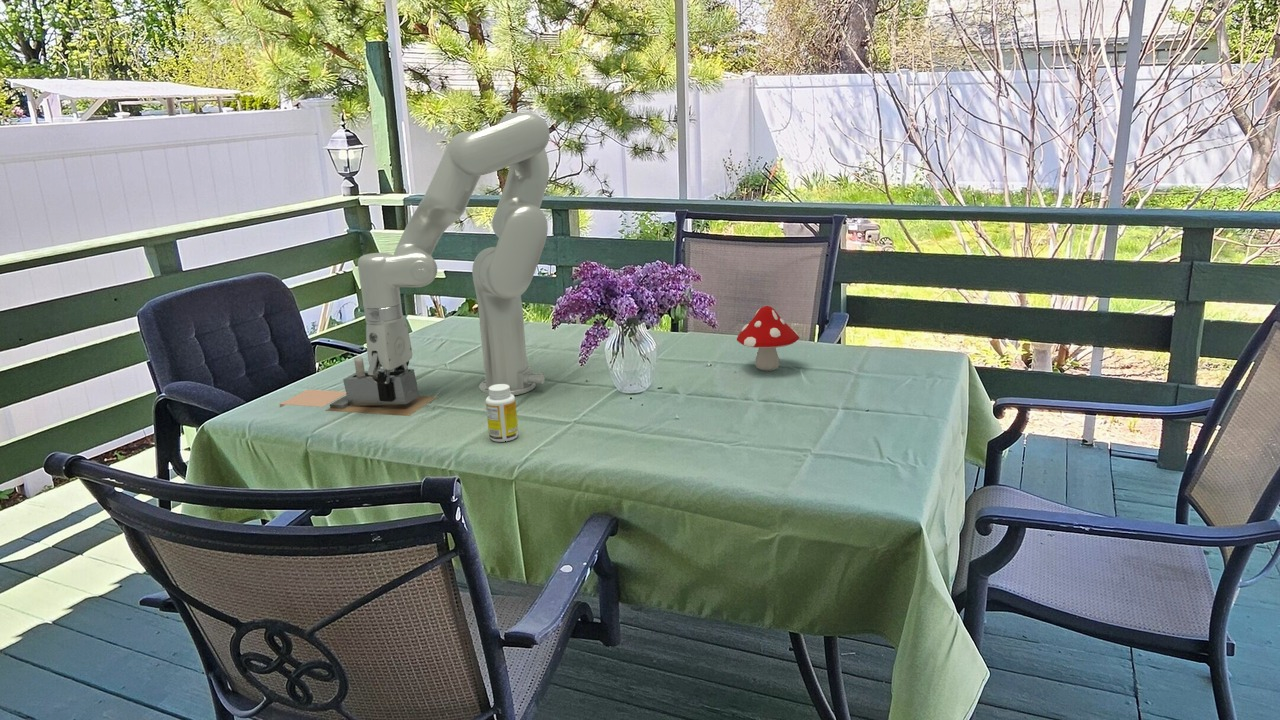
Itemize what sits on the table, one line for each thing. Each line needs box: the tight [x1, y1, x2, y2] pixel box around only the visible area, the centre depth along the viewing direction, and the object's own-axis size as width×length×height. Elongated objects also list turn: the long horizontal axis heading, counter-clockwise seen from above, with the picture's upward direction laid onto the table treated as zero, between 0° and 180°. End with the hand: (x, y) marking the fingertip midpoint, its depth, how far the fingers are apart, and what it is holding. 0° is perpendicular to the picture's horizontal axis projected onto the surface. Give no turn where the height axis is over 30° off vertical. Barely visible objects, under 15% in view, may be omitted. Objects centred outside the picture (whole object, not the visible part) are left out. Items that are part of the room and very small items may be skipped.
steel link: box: [342, 368, 420, 406], centre depth 191 cm, size 14×5×6 cm, turn 73°
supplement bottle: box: [485, 384, 519, 443], centre depth 170 cm, size 6×6×10 cm
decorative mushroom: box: [736, 305, 800, 372], centre depth 203 cm, size 14×14×15 cm
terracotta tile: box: [279, 389, 346, 408], centre depth 198 cm, size 11×10×1 cm
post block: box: [325, 356, 438, 417], centre depth 191 cm, size 20×12×11 cm, turn 73°
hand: (394, 395), depth 190 cm, fingers closed on steel link, 5 cm apart
